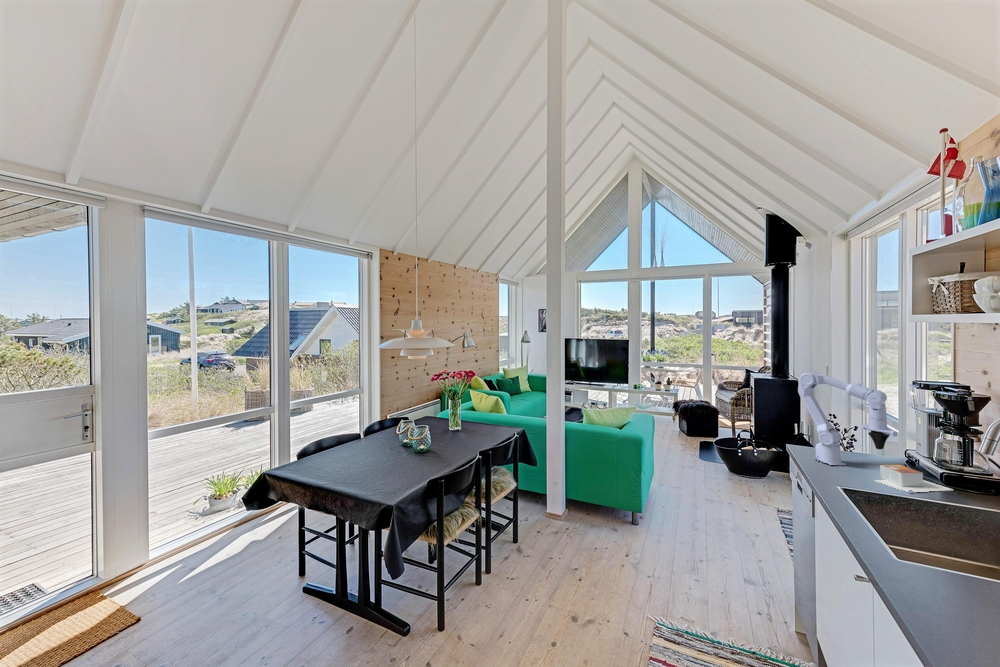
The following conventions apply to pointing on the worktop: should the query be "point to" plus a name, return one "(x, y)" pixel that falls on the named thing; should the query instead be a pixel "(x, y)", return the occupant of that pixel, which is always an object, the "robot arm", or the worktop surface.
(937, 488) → the mat
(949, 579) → the worktop surface
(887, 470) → the small box
